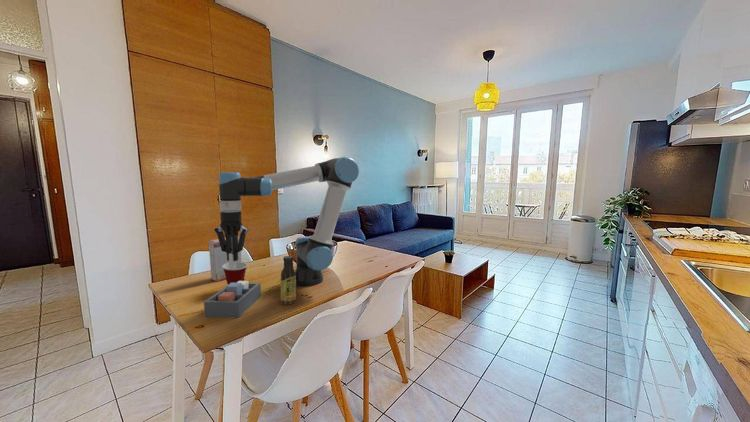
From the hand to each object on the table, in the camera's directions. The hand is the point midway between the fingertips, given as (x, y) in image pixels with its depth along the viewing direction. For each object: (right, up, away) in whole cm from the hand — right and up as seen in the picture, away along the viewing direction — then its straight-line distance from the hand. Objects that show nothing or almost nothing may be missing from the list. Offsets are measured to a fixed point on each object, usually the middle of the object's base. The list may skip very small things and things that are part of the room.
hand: (232, 268), depth 117 cm
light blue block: (0, -12, +1) cm, 12 cm away
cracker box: (-20, -12, +35) cm, 42 cm away
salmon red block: (0, -14, -5) cm, 15 cm away
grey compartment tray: (0, -16, +1) cm, 16 cm away
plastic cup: (-7, -14, +18) cm, 24 cm away
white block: (0, -12, +7) cm, 14 cm away
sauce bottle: (+21, -16, +5) cm, 27 cm away
